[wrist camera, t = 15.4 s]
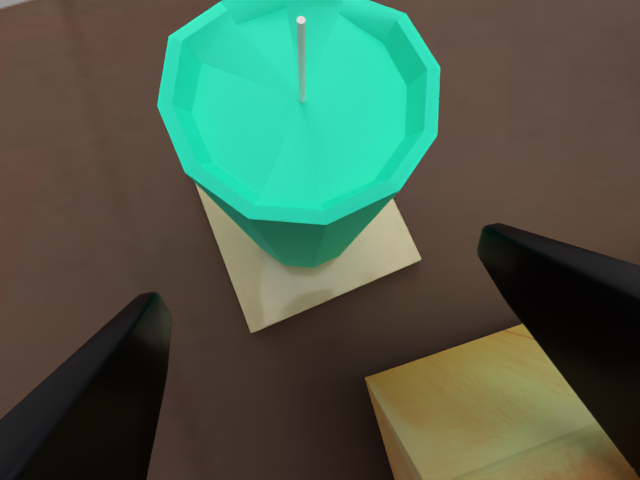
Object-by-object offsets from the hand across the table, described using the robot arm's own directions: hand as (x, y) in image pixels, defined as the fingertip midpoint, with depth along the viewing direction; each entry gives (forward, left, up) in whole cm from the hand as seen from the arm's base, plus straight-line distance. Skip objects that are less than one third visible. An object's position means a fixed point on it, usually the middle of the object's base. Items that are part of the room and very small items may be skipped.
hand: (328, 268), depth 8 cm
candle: (+4, -1, -8) cm, 9 cm away
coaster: (+4, -1, -9) cm, 9 cm away
